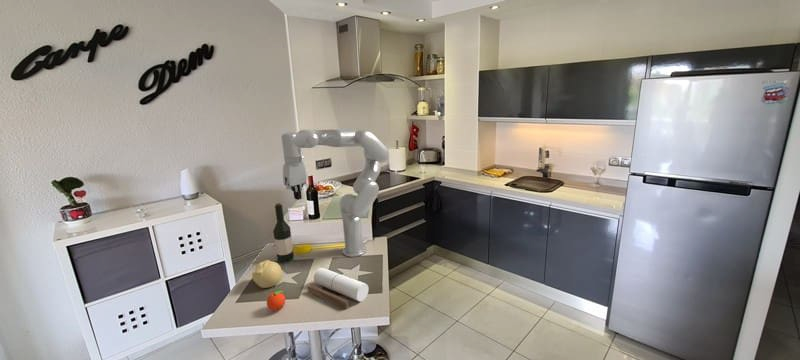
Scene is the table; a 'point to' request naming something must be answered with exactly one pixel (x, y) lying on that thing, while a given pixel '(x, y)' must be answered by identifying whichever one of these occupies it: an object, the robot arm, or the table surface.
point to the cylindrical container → (341, 284)
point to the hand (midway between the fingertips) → (298, 198)
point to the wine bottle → (282, 237)
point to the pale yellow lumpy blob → (267, 274)
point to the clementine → (276, 301)
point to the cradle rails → (328, 296)
